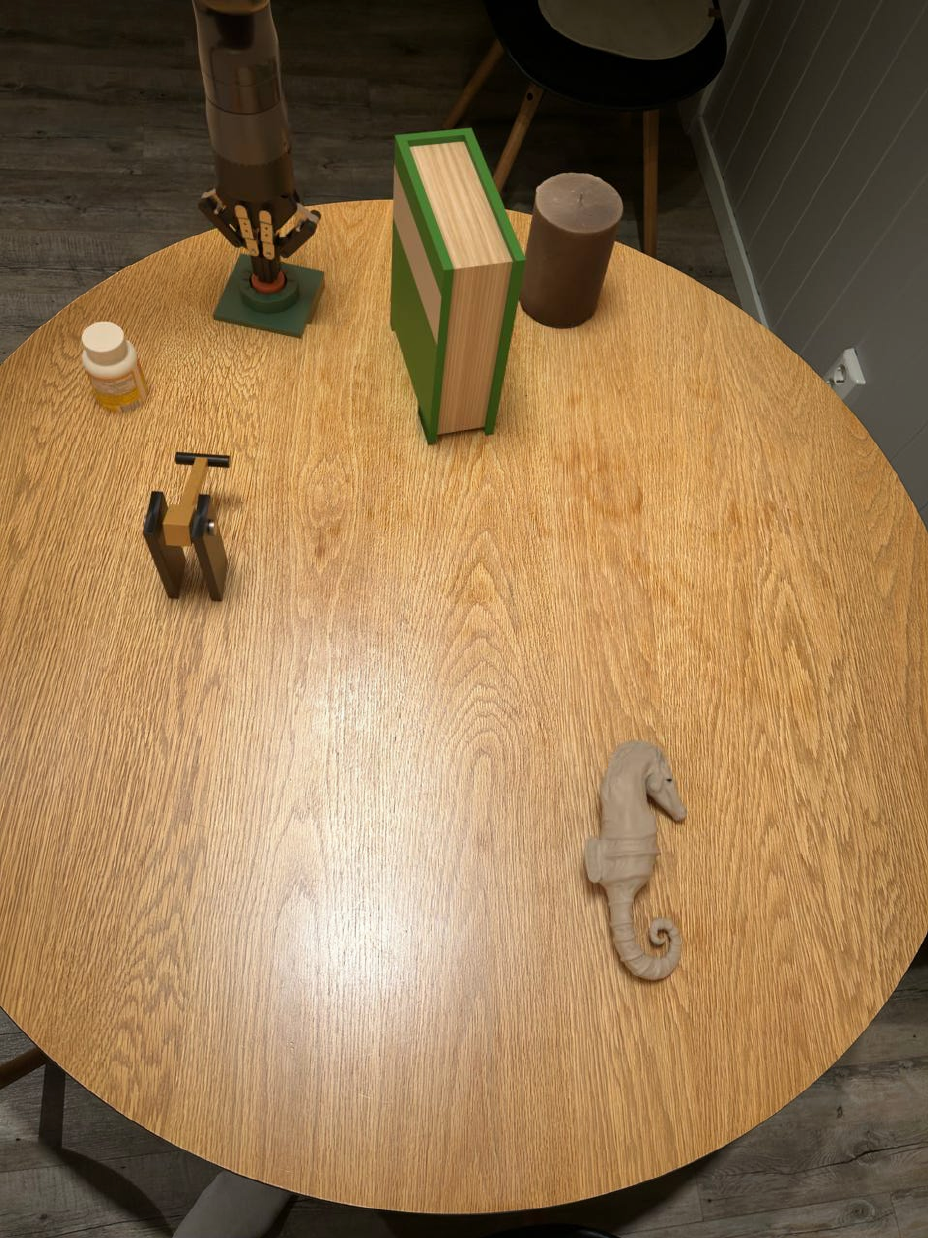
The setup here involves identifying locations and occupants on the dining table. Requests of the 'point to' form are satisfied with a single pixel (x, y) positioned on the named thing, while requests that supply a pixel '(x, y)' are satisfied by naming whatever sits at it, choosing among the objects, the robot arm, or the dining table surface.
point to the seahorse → (633, 848)
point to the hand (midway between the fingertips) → (268, 277)
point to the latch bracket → (173, 557)
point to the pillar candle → (569, 248)
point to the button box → (271, 299)
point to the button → (268, 284)
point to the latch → (189, 496)
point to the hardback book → (452, 279)
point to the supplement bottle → (113, 368)
